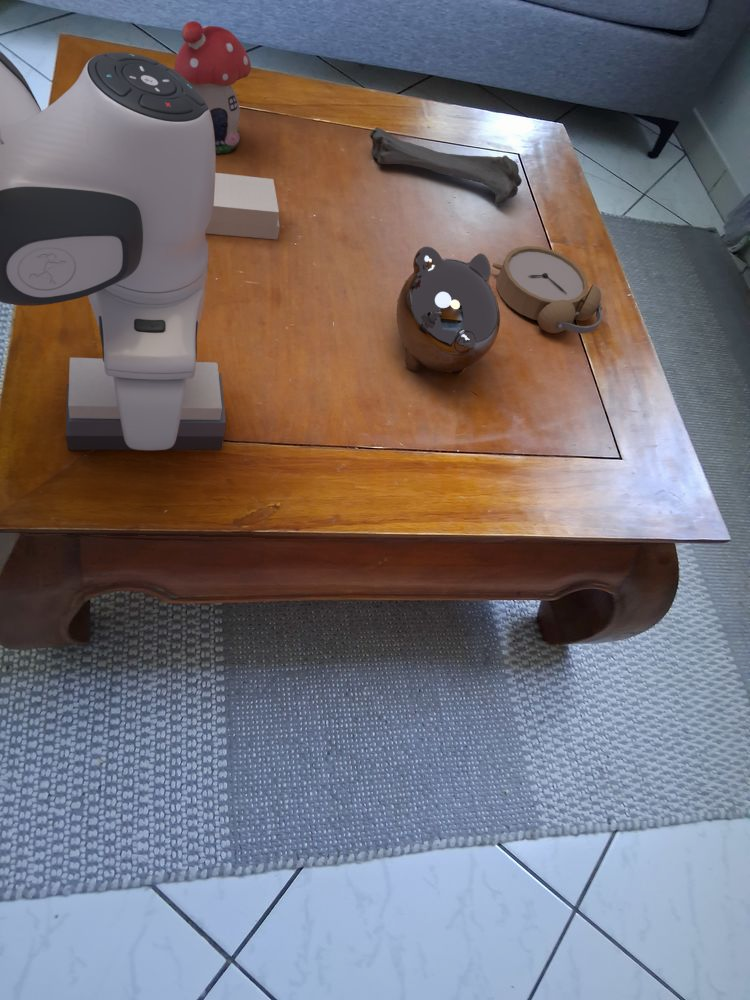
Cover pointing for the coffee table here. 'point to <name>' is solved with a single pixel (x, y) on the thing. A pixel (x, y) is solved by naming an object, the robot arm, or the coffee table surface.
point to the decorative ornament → (215, 76)
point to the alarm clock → (548, 289)
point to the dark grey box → (111, 438)
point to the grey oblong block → (244, 207)
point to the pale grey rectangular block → (99, 401)
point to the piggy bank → (447, 312)
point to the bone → (450, 164)
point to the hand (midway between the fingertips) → (146, 394)
